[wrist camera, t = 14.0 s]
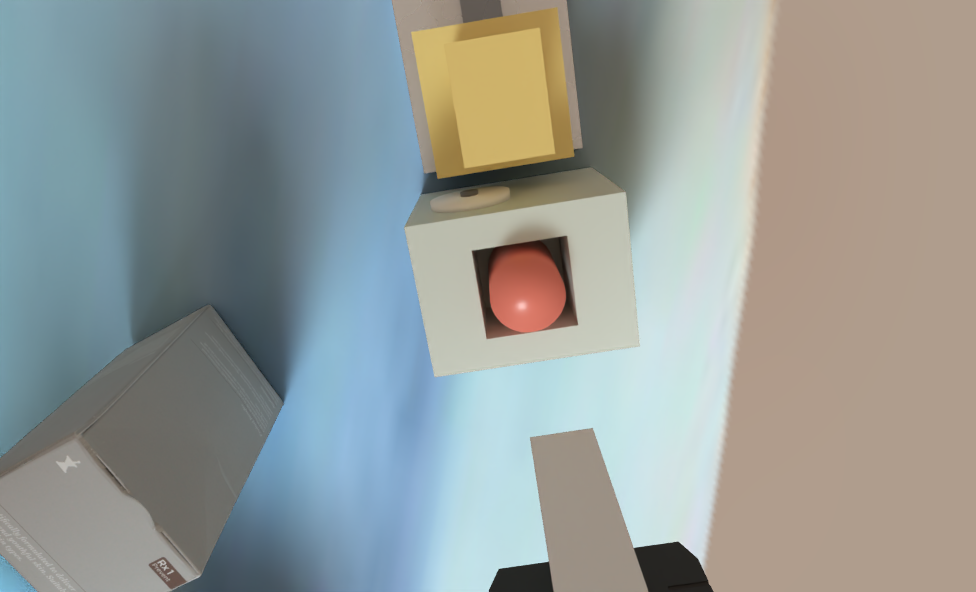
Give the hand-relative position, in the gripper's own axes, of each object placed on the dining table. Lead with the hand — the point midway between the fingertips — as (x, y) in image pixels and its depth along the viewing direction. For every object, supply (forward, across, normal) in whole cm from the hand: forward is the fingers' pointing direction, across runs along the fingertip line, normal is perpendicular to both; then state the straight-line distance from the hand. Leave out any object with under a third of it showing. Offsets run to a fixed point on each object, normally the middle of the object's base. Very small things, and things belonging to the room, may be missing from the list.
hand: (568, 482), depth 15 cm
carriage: (+23, 0, +9) cm, 24 cm away
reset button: (+19, 0, 0) cm, 19 cm away
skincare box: (+24, -20, -5) cm, 32 cm away
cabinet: (+24, 0, 0) cm, 24 cm away
